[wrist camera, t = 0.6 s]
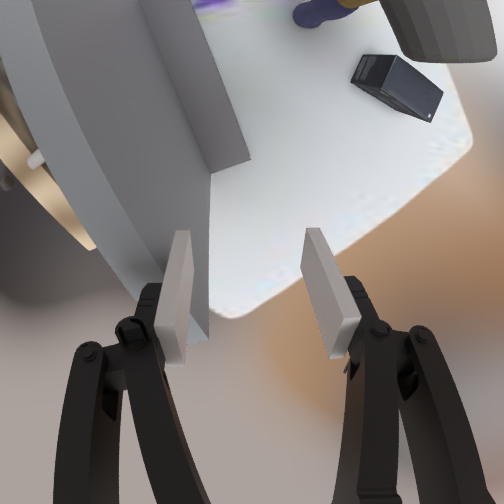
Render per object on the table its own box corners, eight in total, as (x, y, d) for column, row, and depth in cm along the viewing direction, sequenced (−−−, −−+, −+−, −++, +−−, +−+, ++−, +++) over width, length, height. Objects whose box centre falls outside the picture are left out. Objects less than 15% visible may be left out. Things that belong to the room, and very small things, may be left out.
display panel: (82, 34, 26) (-87, 38, 2) (183, -15, 25) (126, -141, 1) (154, 192, 43) (96, 364, 18) (249, 156, 41) (303, 311, 17)
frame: (20, 34, 18) (-71, 92, 7) (42, 16, 17) (-50, 60, 7) (105, 164, 37) (83, 265, 26) (126, 153, 36) (108, 254, 26)
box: (408, 83, 36) (445, 92, 28) (395, 111, 38) (431, 125, 31) (362, 52, 33) (397, 53, 25) (348, 82, 36) (380, 89, 28)
